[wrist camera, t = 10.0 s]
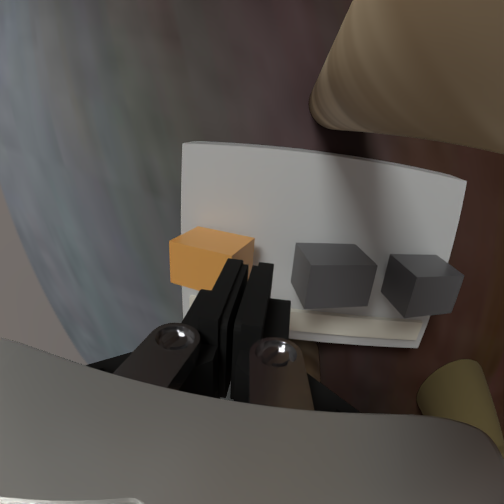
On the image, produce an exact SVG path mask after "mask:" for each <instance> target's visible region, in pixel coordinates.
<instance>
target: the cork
mask: <svg viewBox="0 0 504 504" xmlns="http://www.w3.org/2000/svg"><path fill="white" fill-rule="evenodd" d="M417 404H418V406H419V408H420V410H421V412H422V414H423V415H427V416H436V417H442V418H449V419H453V420H456V421H460V422H464V423H467V424H470V425H472V426H475V427H477V428H479V429H481V430H482V431H484V432H485V433H486V434H487V435H488V436H489V437H490V438H491V439H492V440H493V442H494V443H495V444H496V446H497V447H498V449H499V451H500V453H501V455H502V457H503V459H504V440H503V436H502V432H501V428H500V424H499V421H498V417H497V414H496V410H495V407H494V403H493V400H492V397H491V394H490V391H489V388H488V385H487V382H486V379H485V376H484V373H483V370H482V368H481V366H480V365H479V364H478V362H476V361H473V360H470V359H463V360H457V361H454V362H451V363H448V364H447V365H445V366H443V367H441V368H439V369H438V370H436V371H435V372H434V373H433V374H431V375H430V376H429V377H428V378H427V379H426V380H425V382H424V383H423V384H422V385H421V387H420V389H419V391H418V393H417Z"/></svg>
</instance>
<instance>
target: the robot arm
mask: <svg viewBox="0 0 504 504" xmlns="http://www.w3.org/2000/svg"><path fill="white" fill-rule="evenodd" d="M273 270H274V264H272V263H264V262H259V264H258V266H256V265H253V266H252V269H251V272H250V275H249V278H248V265H247V264H243V260H239V259H230V258H228V259H227V261H226V263H225V265H224V267H223V269H222V271H221V273H220V275H219V277H218V279H217V281H216V283H215V285H214V287H213V288H212V290H205V289H201V290H200V291H199V293H198V294H197V296H196V298H195V300H194V301H193V303H192V305H191V307H190V308H189V310H188V312H187V314H186V316H185V317H184V319H183V321H182V323H168V324H164V325H161V326H159V327H157V328H156V329H155V330H153V331H152V332H151V333H150V334H149V335H148V336H147V338H146V339H145V340H144V341H143V342H142V343H141V344H140V345H139V346H138V347H137V348H136V349H135V350H134V351H133V352H130V353H127V354H123V355H120V356H117V357H113V358H110V359H106V360H103V361H99V362H96V363H92V364H89V365H86V366H85V365H82V364H79V363H76V362H73V361H70V360H68V359H65V358H62V357H59V356H56V355H53V354H50V353H48V352H45V351H42V350H39V349H37V348H33V347H31V346H28V345H25V344H23V343H20V342H16V341H13V340H9V339H6V338H0V504H504V459H503V457H502V455H501V453H500V451H499V449H498V447H497V446H496V444H495V443H494V442H493V440H492V439H491V438H490V437H489V436H488V435H487V434H486V433H485V432H484V431H482V430H481V429H479V428H477V427H475V426H472V425H470V424H467V423H464V422H460V421H456V420H453V419H449V418H442V417H436V416H427V415H413V414H374V413H360V412H359V411H358V410H357V409H355V408H354V407H352V406H351V405H350V404H348V403H347V402H346V401H344V400H343V399H341V398H340V397H339V396H337V395H336V394H335V393H333V392H332V391H331V390H329V389H328V388H327V387H325V386H324V385H323V384H321V383H320V382H319V381H317V380H316V379H315V378H313V377H312V376H311V375H310V374H308V373H307V372H306V368H305V363H304V358H303V354H302V351H301V349H300V348H299V347H298V346H297V345H296V344H295V343H293V342H291V341H290V340H289V327H290V311H291V301H290V300H281V299H273V298H271V289H272V279H273ZM230 381H231V395H230V398H231V399H234V401H230V400H224V399H220V397H222V398H226V395H227V392H228V388H229V385H230Z"/></svg>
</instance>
